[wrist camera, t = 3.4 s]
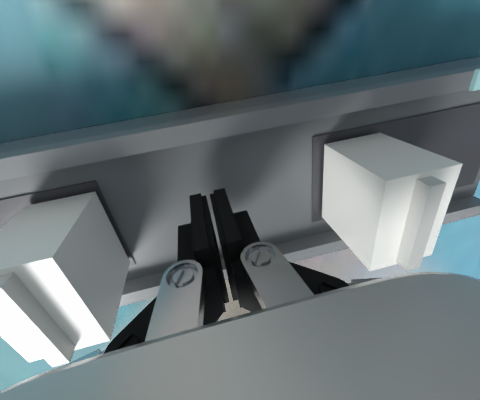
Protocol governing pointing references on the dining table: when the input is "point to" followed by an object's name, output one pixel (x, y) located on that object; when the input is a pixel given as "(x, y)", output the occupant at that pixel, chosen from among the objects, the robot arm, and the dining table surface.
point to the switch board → (245, 161)
